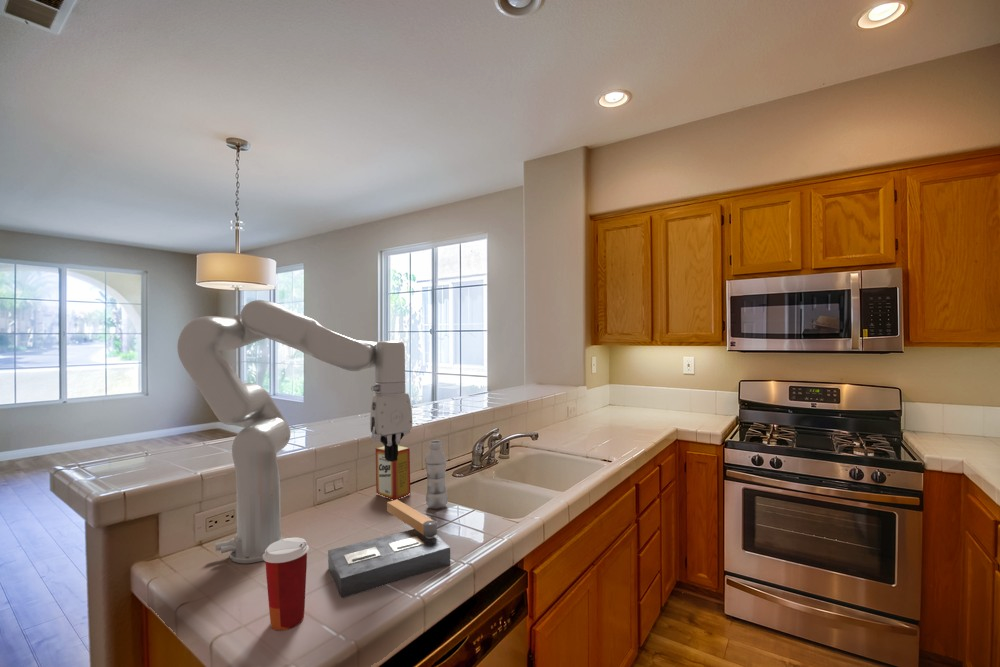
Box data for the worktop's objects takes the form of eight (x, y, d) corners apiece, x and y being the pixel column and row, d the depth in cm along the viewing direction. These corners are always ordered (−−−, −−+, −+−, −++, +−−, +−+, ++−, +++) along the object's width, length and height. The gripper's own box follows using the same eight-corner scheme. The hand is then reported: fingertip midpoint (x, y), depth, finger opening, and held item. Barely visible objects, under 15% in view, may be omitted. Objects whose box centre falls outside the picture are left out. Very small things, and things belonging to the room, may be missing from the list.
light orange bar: (439, 533, 107) (439, 523, 107) (427, 538, 105) (427, 527, 105) (397, 508, 123) (397, 499, 123) (386, 511, 121) (386, 502, 121)
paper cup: (316, 607, 87) (315, 535, 87) (300, 633, 79) (298, 554, 79) (275, 609, 87) (274, 536, 87) (255, 635, 79) (253, 556, 79)
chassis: (341, 598, 90) (340, 574, 90) (328, 568, 102) (328, 547, 102) (450, 564, 102) (449, 544, 102) (427, 541, 114) (427, 522, 114)
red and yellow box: (410, 495, 148) (409, 446, 148) (394, 501, 143) (393, 451, 143) (392, 489, 154) (391, 443, 154) (376, 495, 149) (375, 447, 149)
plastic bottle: (444, 512, 133) (442, 444, 133) (422, 510, 134) (421, 444, 134) (450, 503, 139) (449, 439, 139) (430, 502, 141) (429, 439, 141)
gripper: (371, 392, 107) (372, 469, 107) (423, 387, 118) (423, 456, 117) (356, 390, 112) (357, 463, 112) (406, 385, 123) (407, 452, 123)
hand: (391, 460), depth 115 cm, fingers closed
